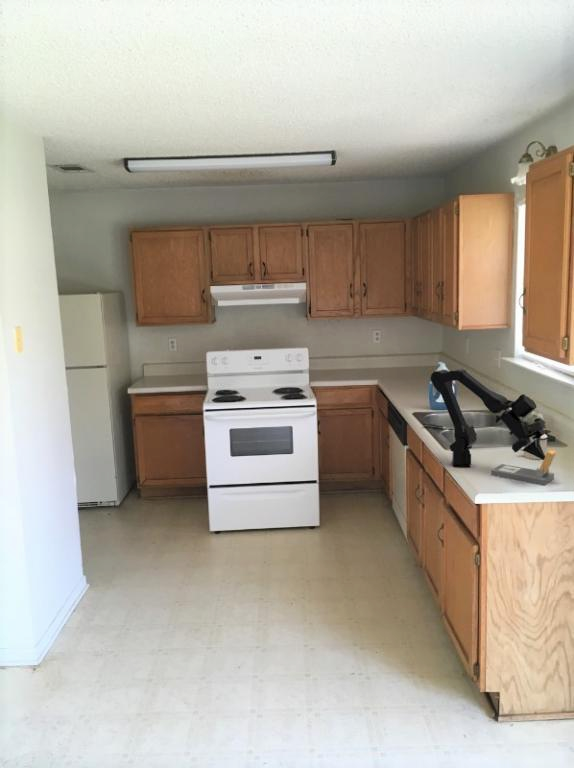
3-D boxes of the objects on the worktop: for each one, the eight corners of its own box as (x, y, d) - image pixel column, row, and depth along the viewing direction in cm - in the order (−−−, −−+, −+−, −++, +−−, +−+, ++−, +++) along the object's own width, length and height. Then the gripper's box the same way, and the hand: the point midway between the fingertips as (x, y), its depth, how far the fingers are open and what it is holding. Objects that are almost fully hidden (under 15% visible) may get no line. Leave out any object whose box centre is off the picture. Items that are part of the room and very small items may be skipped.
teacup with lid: (542, 453, 262) (544, 426, 260) (549, 460, 253) (551, 432, 251) (513, 453, 264) (514, 426, 262) (518, 459, 255) (520, 431, 253)
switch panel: (491, 475, 235) (491, 461, 235) (501, 468, 243) (502, 455, 242) (544, 485, 223) (545, 471, 222) (553, 478, 230) (554, 465, 229)
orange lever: (536, 474, 227) (547, 451, 223) (541, 471, 230) (551, 449, 227) (541, 477, 226) (552, 454, 222) (546, 474, 229) (556, 451, 225)
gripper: (522, 416, 220) (552, 451, 215) (540, 407, 234) (570, 440, 229) (499, 434, 227) (528, 469, 221) (518, 425, 241) (547, 457, 235)
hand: (544, 458), depth 226 cm, fingers closed
